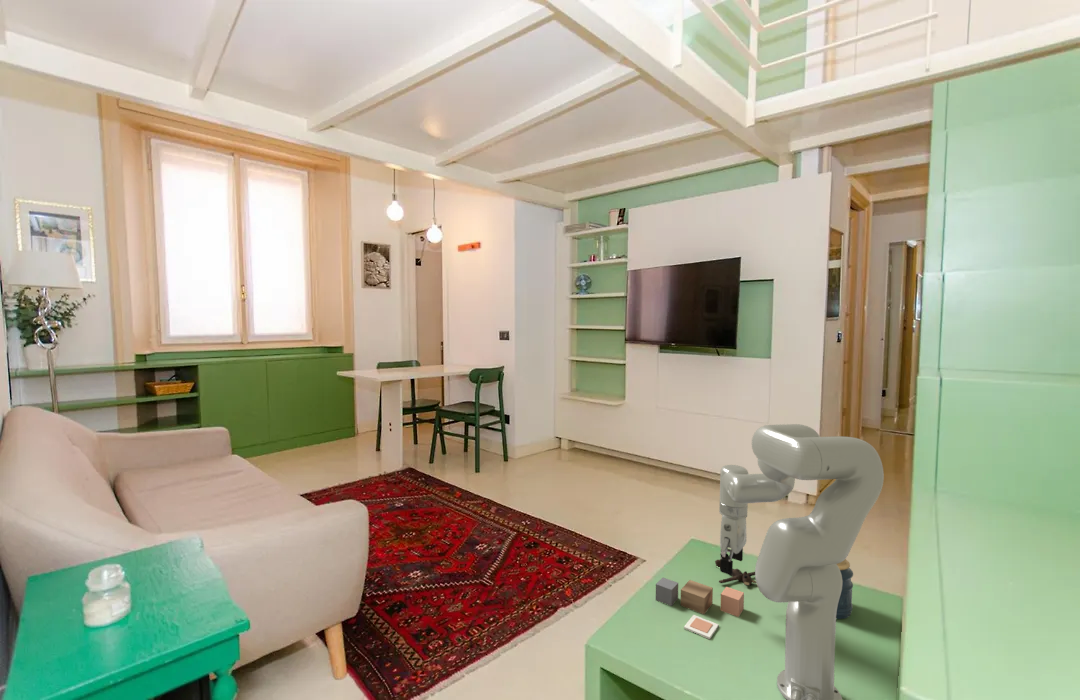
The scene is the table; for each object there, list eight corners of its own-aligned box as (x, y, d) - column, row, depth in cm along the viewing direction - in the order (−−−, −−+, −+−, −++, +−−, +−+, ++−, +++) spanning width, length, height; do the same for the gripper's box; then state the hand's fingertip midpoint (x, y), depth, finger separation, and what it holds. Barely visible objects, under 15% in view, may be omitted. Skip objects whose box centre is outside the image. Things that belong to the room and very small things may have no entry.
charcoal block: (671, 606, 137) (671, 589, 137) (655, 600, 140) (655, 584, 140) (678, 598, 141) (678, 582, 140) (662, 593, 144) (662, 577, 144)
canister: (863, 617, 131) (865, 556, 130) (822, 622, 129) (824, 560, 128) (828, 592, 144) (829, 536, 143) (790, 596, 142) (791, 539, 141)
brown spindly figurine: (738, 553, 164) (772, 568, 150) (739, 566, 164) (773, 582, 150) (697, 562, 157) (729, 579, 144) (698, 575, 157) (730, 593, 143)
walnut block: (704, 615, 133) (704, 598, 132) (680, 606, 137) (680, 589, 137) (712, 604, 138) (712, 587, 138) (689, 595, 142) (689, 579, 142)
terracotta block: (738, 617, 131) (738, 600, 131) (720, 610, 135) (720, 593, 134) (743, 609, 135) (743, 592, 135) (726, 602, 138) (726, 586, 138)
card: (709, 639, 122) (709, 636, 122) (683, 628, 126) (683, 626, 126) (718, 626, 127) (718, 623, 127) (693, 616, 132) (693, 614, 131)
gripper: (737, 522, 125) (736, 583, 126) (755, 503, 138) (753, 558, 139) (710, 515, 130) (708, 574, 131) (729, 497, 143) (727, 550, 144)
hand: (731, 566), depth 135 cm, fingers open, 9 cm apart
